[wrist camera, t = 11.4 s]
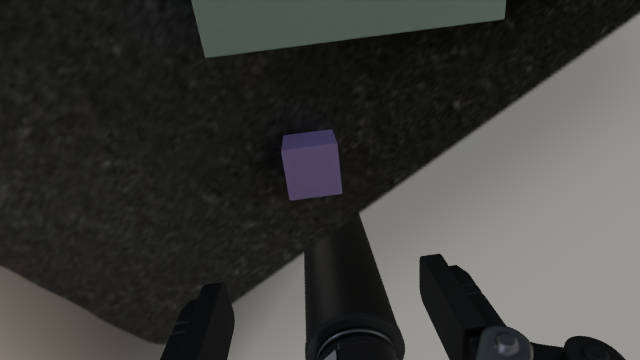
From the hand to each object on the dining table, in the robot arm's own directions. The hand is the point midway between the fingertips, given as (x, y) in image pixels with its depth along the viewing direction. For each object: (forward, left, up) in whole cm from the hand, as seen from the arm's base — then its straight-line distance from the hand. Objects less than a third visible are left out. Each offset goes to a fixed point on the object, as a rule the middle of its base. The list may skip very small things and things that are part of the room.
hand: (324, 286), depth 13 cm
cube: (0, 0, -16) cm, 16 cm away
